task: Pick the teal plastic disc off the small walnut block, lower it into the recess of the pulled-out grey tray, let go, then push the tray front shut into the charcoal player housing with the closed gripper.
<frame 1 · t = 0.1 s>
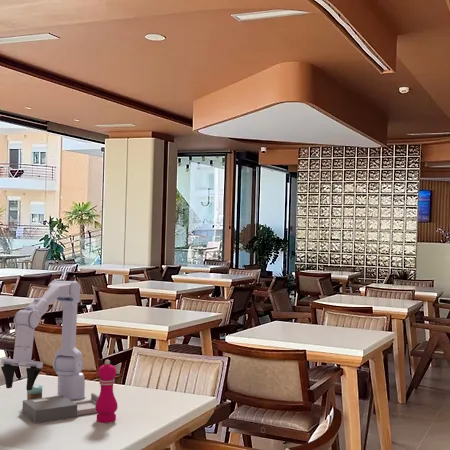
hand: (18, 389, 213), 11 cm above the table, tool pointing down, fingers open, 7 cm apart
disc: (34, 392, 231), point 5 cm above the table, touching walnut block
player housing: (49, 415, 221), on the table
pepper mill: (106, 420, 216), on the table
walnut block: (34, 406, 231), on the table
tray: (83, 404, 227), point 2 cm above the table, slide at 10.5 cm
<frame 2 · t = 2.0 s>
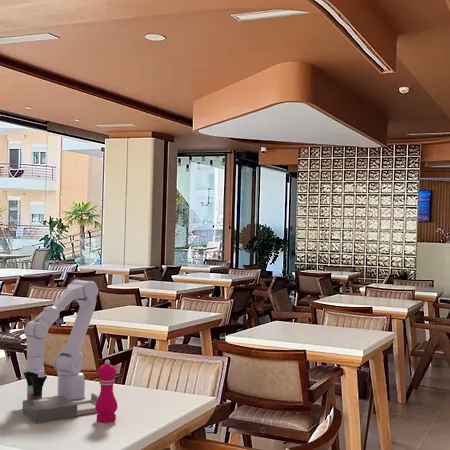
hand: (34, 393, 231), 4 cm above the table, tool pointing down, fingers closed on disc, 5 cm apart
disc: (34, 392, 231), point 5 cm above the table, touching gripper, walnut block
everything else where it was.
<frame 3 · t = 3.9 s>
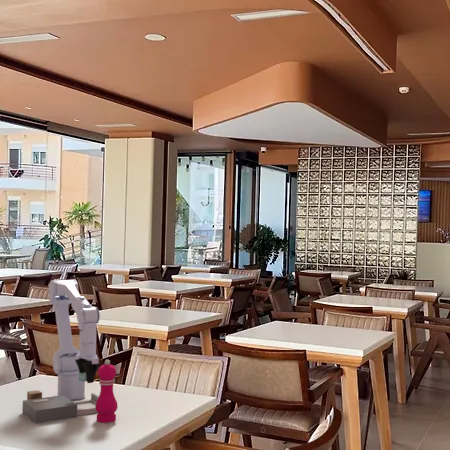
hand: (87, 381, 228), 10 cm above the table, tool pointing down, fingers closed on disc, 5 cm apart
disc: (86, 379, 228), point 10 cm above the table, touching gripper
everything else where it was.
when the fingers open (2 cm above the table, at t = 6.0 s): disc drops 2 cm, resting on tray.
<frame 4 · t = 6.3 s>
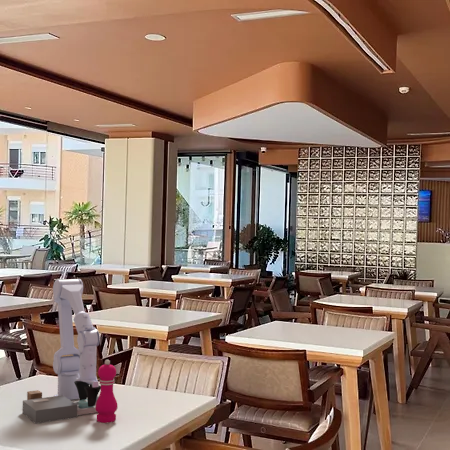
hand: (87, 403, 228), 2 cm above the table, tool pointing down, fingers open, 7 cm apart
disc: (86, 406, 228), point 1 cm above the table, touching tray
tray: (83, 404, 227), point 2 cm above the table, slide at 10.5 cm, touching disc
everything else where it was.
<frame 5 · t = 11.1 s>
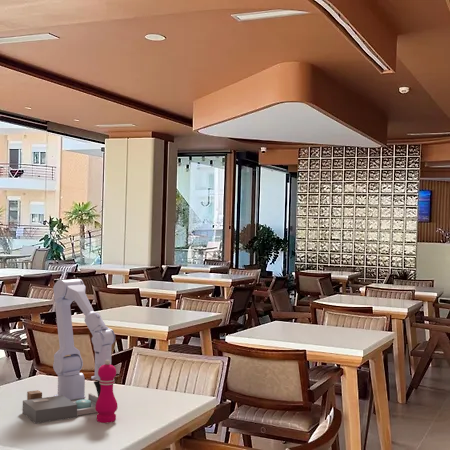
hand: (102, 402, 231), 2 cm above the table, tool pointing down, fingers closed
disc: (83, 407, 227), point 1 cm above the table, touching tray
tray: (80, 404, 227), point 2 cm above the table, slide at 9.4 cm, touching disc, gripper
everything else where it was.
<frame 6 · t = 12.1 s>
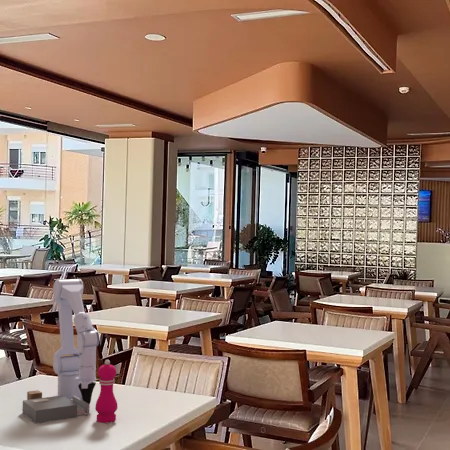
hand: (86, 404, 228), 2 cm above the table, tool pointing down, fingers closed
disc: (66, 409, 224), point 1 cm above the table, touching tray
tray: (63, 407, 223), point 2 cm above the table, slide at 3.5 cm, touching disc, gripper
everything else where it was.
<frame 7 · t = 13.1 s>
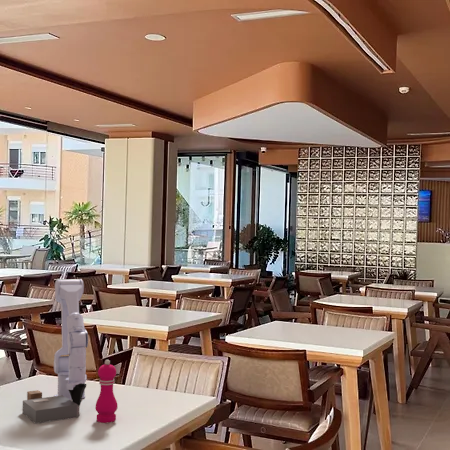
hand: (76, 405, 226), 2 cm above the table, tool pointing down, fingers closed
disc: (56, 411, 222), point 1 cm above the table, touching tray
tray: (53, 408, 221), point 2 cm above the table, slide at -0.1 cm, touching disc, gripper
everything else where it was.
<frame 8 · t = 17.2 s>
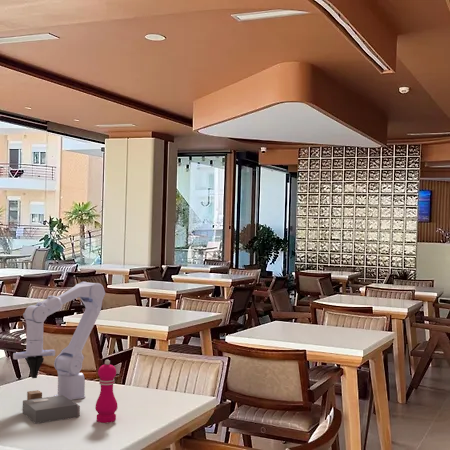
hand: (34, 377, 232), 10 cm above the table, tool pointing down, fingers closed
tray: (53, 408, 221), point 2 cm above the table, slide at 0.0 cm, touching disc
everything else where it was.
at the end: tray slide at 0.0 cm; disc inside the target area on the player housing (2.6 cm from its centre), point 1.0 cm above the player housing's base; the gripper is holding nothing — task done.
